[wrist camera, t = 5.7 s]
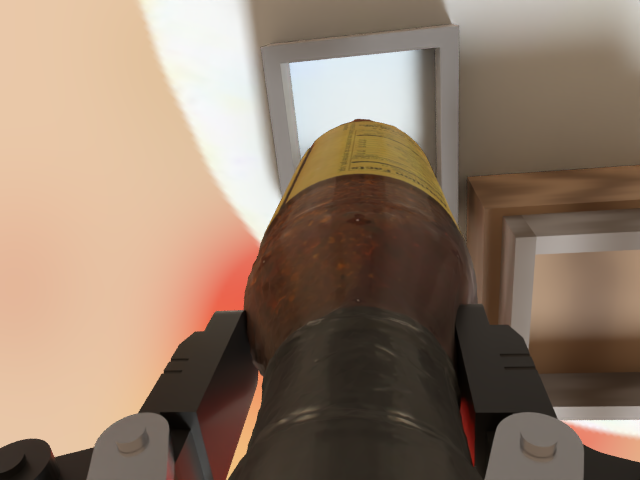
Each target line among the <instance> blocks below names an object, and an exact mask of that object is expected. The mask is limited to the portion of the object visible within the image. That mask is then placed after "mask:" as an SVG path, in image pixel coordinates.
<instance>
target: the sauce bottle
mask: <svg viewBox="0 0 640 480" xmlns="http://www.w3.org/2000/svg"><path fill="white" fill-rule="evenodd" d="M460 304H478V296H477V281H476V273H475V269H474V266H473V262H472V258H471V255H470V252H469V250H468V248H467V245H466V243H465V240H464V238H463V236H462V234H461V232H460V230H459V227H458V225H457V223H456V221H455V219H454V217H453V215H452V213H451V211H450V208H449V206H448V203H447V201H446V198H445V196H444V194H443V192H442V189H441V187H440V185H439V183H438V181H437V179H436V177H435V175H434V172H433V170H432V168H431V166H430V163H429V161H428V159H427V157H426V156H425V154H424V153H423V151H422V150H421V148H420V147H419V146H418V145H417V143H416V142H415V141H414V140H413V139H412V138H410V137H409V136H408V135H407V134H406V133H404V132H402V131H401V130H399V129H398V128H396V127H394V126H391V125H387V124H384V123H379V122H374V121H371V120H366V119H356V120H354V121H352V122H349V123H345V124H342V125H340V126H338V127H336V128H333V129H331V130H329V131H328V132H326V133H325V134H323V135H322V136H321V137H319V138H318V139H317V140H316V141H315V142H314V143H313V145H312V146H311V148H309V149H308V150H307V152H306V153H305V155H304V156H303V158H302V159H301V161H300V163H299V165H298V167H297V169H296V171H295V173H294V175H293V177H292V179H291V181H290V183H289V185H288V187H287V189H286V191H285V193H284V195H283V197H282V199H281V201H280V203H279V205H278V207H277V209H276V211H275V213H274V215H273V217H272V219H271V221H270V223H269V225H268V227H267V229H266V231H265V234H264V237H263V239H262V242H261V245H260V249H259V254H258V256H257V259H256V261H255V262H254V264H253V267H252V271H251V273H250V275H249V277H248V282H247V286H246V290H245V297H244V310H246V318H247V335H248V341H249V345H250V353H251V355H252V362H253V364H254V365H255V367H256V368H257V369H258V370H259V371H260V374H261V375H262V376H263V383H262V402H261V408H260V410H259V412H258V416H257V421H256V424H255V427H254V429H253V432H252V436H251V439H250V441H249V444H248V450H247V453H246V455H245V456H244V457H243V458H242V459H241V460H240V462H239V463H238V465H237V467H236V468H235V469H234V471H233V473H232V474H231V476H230V477H229V479H228V480H483V479H482V477H481V476H480V474H479V473H478V471H477V470H476V469H475V468H474V467H473V463H472V458H471V454H470V450H469V447H468V441H467V437H466V435H465V432H464V429H463V423H462V417H461V413H460V408H461V392H460V388H459V385H458V362H457V345H456V329H455V321H456V314H457V310H458V308H459V306H460Z"/></svg>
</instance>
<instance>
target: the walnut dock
mask: <svg viewBox="0 0 640 480" xmlns="http://www.w3.org/2000/svg"><path fill="white" fill-rule="evenodd" d="M467 248H468V250H469V252H470V255H471V258H472V262H473V266H474V269H475V273H476V281H477V296H478V304H483V306H484V309H485V312H486V315H487V318H488V321H489V324H490V325H507V324H508V325H509V326H510V327H511V328H513V329H514V330H515V331H516V332H517V333H518V334H520V335H521V336H522V337H523V338H524V341H525V343H526V345H527V348H528V350H529V352H530V357H532V359H533V362H534V364H535V366H536V370H537V371H538V373H539V376H540V378H541V380H542V383H543V385H544V388H545V390H546V392H547V395H548V397H549V399H550V402H551V404H552V406H553V409H554V411H555V413H556V416H557V418H558V420H640V165H633V166H618V167H603V168H589V169H574V170H560V171H545V172H531V173H516V174H501V175H487V176H472V177H467Z"/></svg>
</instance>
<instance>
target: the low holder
mask: <svg viewBox="0 0 640 480" xmlns="http://www.w3.org/2000/svg"><path fill="white" fill-rule="evenodd" d="M428 48H435V97H436V170H437V181H438V183H439V185H440V187H441V189H442V192H443V194H444V196H445V198H446V201H447V203H448V206H449V208H450V211H451V213H452V215H453V217H454V219H455V221H456V223H457V225H458V162H459V25H454V24H448V25H439V26H430V27H421V28H411V29H402V30H393V31H384V32H375V33H365V34H356V35H347V36H338V37H329V38H319V39H310V40H301V41H292V42H283V43H273V44H268V45H265V46H262V47H261V54H262V61H263V68H264V75H265V82H266V89H267V96H268V103H269V110H270V117H271V124H272V131H273V138H274V145H275V152H276V159H277V166H278V173H279V180H280V187H281V194H282V197H283V195H284V193H285V191H286V189H287V187H288V185H289V183H290V181H291V179H292V177H293V175H294V173H295V171H296V169H297V167H298V165H299V163H300V161H301V157H300V149H299V141H298V133H297V125H296V117H295V109H294V100H293V92H292V84H291V76H290V68H289V63H292V62H301V61H311V60H321V59H331V58H340V57H350V56H360V55H369V54H379V53H389V52H399V51H408V50H418V49H428Z"/></svg>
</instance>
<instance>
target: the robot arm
mask: <svg viewBox="0 0 640 480" xmlns="http://www.w3.org/2000/svg"><path fill="white" fill-rule="evenodd" d="M455 329H456V345H457V362H458V385H459V388H460V392H461V408H460V413H461V417H462V423H463V429H464V432H465V435H466V437H467V441H468V447H469V450H470V454H471V458H472V463H473V467H474V468H475V469H476V470H477V471H478V473H479V474H480V476H481V477H482V479H483V480H640V463H639V462H635V461H631V460H627V459H623V458H619V457H615V456H611V455H607V454H604V453H600V452H598V451H596V450H593V449H591V448H589V447H587V446H585V445H583V444H582V441H581V440H580V438H579V436H578V435H577V434H576V433H575V431H574V430H573V429H571V428H570V427H569V426H568V425H566V424H565V423H563V422H562V421H560V420H558V418H557V416H556V413H555V411H554V409H553V406H552V404H551V402H550V399H549V397H548V395H547V392H546V390H545V388H544V385H543V383H542V380H541V378H540V376H539V373H538V371H537V370H536V366H535V364H534V362H533V359H532V357H530V352H529V350H528V348H527V345H526V343H525V341H524V338H523V337H522V336H521V335H520V334H518V333H517V332H516V331H515V330H514V329H513V328H511V327H510V326H509V325H508V324H507V325H490V324H489V321H488V318H487V315H486V312H485V309H484V306H483V304H460V306H459V308H458V310H457V314H456V321H455ZM257 381H258V369H257V368H256V367H255V365H254V364H253V362H252V355H251V353H250V345H249V341H248V335H247V318H246V310H238V311H216V312H215V313H214V314H213V316H212V318H211V320H210V322H209V323H208V325H207V327H206V329H205V331H203V332H194V333H193V334H192V335H190V337H188V338H187V339H186V340H185V341H183V342H182V343H181V344H180V345H179V346H178V348H177V349H176V351H175V353H174V354H173V356H172V358H171V362H169V363H168V365H167V366H166V368H165V369H164V374H161V376H160V378H159V380H158V381H157V383H156V384H155V386H154V388H153V389H152V391H151V393H150V394H149V396H148V398H147V399H146V401H145V403H144V404H143V406H142V407H141V409H140V411H139V413H138V414H134V415H130V416H127V417H125V418H123V419H121V420H119V421H117V422H115V423H114V424H112V425H111V426H110V427H109V428H107V429H106V430H105V431H104V432H103V433H102V434H101V435H100V437H99V438H98V440H97V441H96V443H95V447H94V448H90V449H86V450H82V451H78V452H74V453H70V454H66V455H62V456H58V457H54V455H53V453H52V450H51V448H50V446H49V445H48V443H46V442H45V441H43V440H40V439H25V440H20V441H16V442H14V443H11V444H8V445H6V446H4V447H2V448H0V480H226V477H227V474H228V471H229V468H230V465H231V462H232V459H233V456H234V453H235V450H236V447H237V444H238V441H239V438H240V435H241V432H242V429H243V426H244V423H245V420H246V417H247V414H248V411H249V408H250V405H251V402H252V399H253V396H254V393H255V390H256V387H257Z"/></svg>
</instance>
